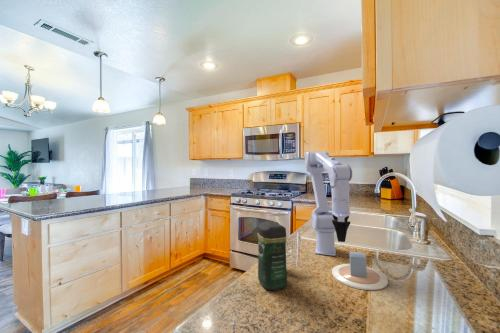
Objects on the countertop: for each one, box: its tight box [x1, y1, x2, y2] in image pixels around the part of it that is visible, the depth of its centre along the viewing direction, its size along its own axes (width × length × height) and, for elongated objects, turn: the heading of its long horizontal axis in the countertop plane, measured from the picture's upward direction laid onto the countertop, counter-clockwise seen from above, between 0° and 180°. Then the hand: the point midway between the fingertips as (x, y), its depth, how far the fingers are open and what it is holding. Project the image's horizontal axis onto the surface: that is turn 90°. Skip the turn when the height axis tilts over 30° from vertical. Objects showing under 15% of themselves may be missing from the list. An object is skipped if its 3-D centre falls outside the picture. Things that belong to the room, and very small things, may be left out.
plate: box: [331, 263, 389, 291], centre depth 72 cm, size 16×16×1 cm
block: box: [349, 251, 368, 278], centre depth 72 cm, size 4×4×6 cm
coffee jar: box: [257, 220, 288, 291], centre depth 69 cm, size 10×8×19 cm
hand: (341, 238), depth 79 cm, fingers open, 7 cm apart
